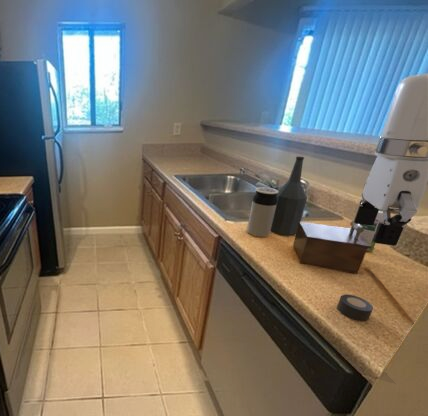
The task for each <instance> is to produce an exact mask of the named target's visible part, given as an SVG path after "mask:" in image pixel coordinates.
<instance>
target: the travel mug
mask: <svg viewBox="0 0 428 416" xmlns="http://www.w3.org/2000/svg"><path fill="white" fill-rule="evenodd" d="M278 190H279V189H275V188H273V187H272V188H271V187H266V186H265V187H264V186H261V187H260V186H259V187H256V188H255V194H254V195H253V197H252V201H251V207H250V212H249V217H248V221H247V227H246V233H248V234H249V235H250V236H253V237H257V238H267V237H269V236H270V234H271V231H270V230H271V226H272V222H273V217H274V213H275V209H276V205H277V197H276V196H277V193H278Z"/></svg>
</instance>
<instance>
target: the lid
mask: <svg viewBox="0 0 428 416" xmlns="http://www.w3.org/2000/svg"><path fill="white" fill-rule="evenodd" d="M299 225H300V227H301V229H302V231H303V232H304V234H305V236H306V238H307V239H310V240H316V241H323V242H330V243H336V244H343V245H350V246H356V247H363V248H370V249H371V247H372V246H371V245H370V244H369V243H368V242H367V241H366V240H365V239H364V238H363V237H362V236H361V234H360V233H361V232H363V231H364V228H363V227H362V226H361V225H360V224H356V223H355V222H354V220H352V221H351V222H350V223H349V225H350V226H351V227H343V226H335V225H329V224H328V225H327V224H320V223H312V222H304V221H301V222H299Z"/></svg>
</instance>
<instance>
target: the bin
mask: <svg viewBox="0 0 428 416" xmlns="http://www.w3.org/2000/svg"><path fill="white" fill-rule="evenodd" d="M292 247H293V250H294V253H295V255H296V257H297V260H298V263H299V264H300V265H305V266H306V265H307V266H311V267H316V268H322V269H328V270H333V271H337V272H345V273H350V274H356V275H358V274H359V272H360V268H361V266H362V264H363V260H364V258H365V255H366V253H367V251H366V250H367V248H363V247H356V246H350V245H343V244H336V243H330V242H323V241H316V240H310V239H307V238H306V236H305V234H304V232H303V231H302V229H301V227H300V225H298V228H297V232H296V234H295V235H294V239H293V244H292Z"/></svg>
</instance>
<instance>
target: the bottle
mask: <svg viewBox="0 0 428 416" xmlns="http://www.w3.org/2000/svg"><path fill="white" fill-rule="evenodd" d="M304 160H305V157H304V156H299V155H298V156H296V157H295V162H294V165H293V167H292V170H291V172H290V174H289V177H288V179H287V181H286V182H285V183H284V184H283V185H281V187H280V188H279V189H277V190H278V193H277V196H276V197H277V205H276V209H275V213H274V217H273V222H272V226H271V230H270V233H273V234H274V235H275V234H276V235H278V236H283V237H295V236H296V232H297V228H298V225H299V222H302V219H303V215H304V211H305V208H306V203H307V200H308V197H307V194H306V192H305V190H304V187H303V185H302V183H301V180H302V179H301V178H302V171H303V165H304V164H303V163H304Z"/></svg>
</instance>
